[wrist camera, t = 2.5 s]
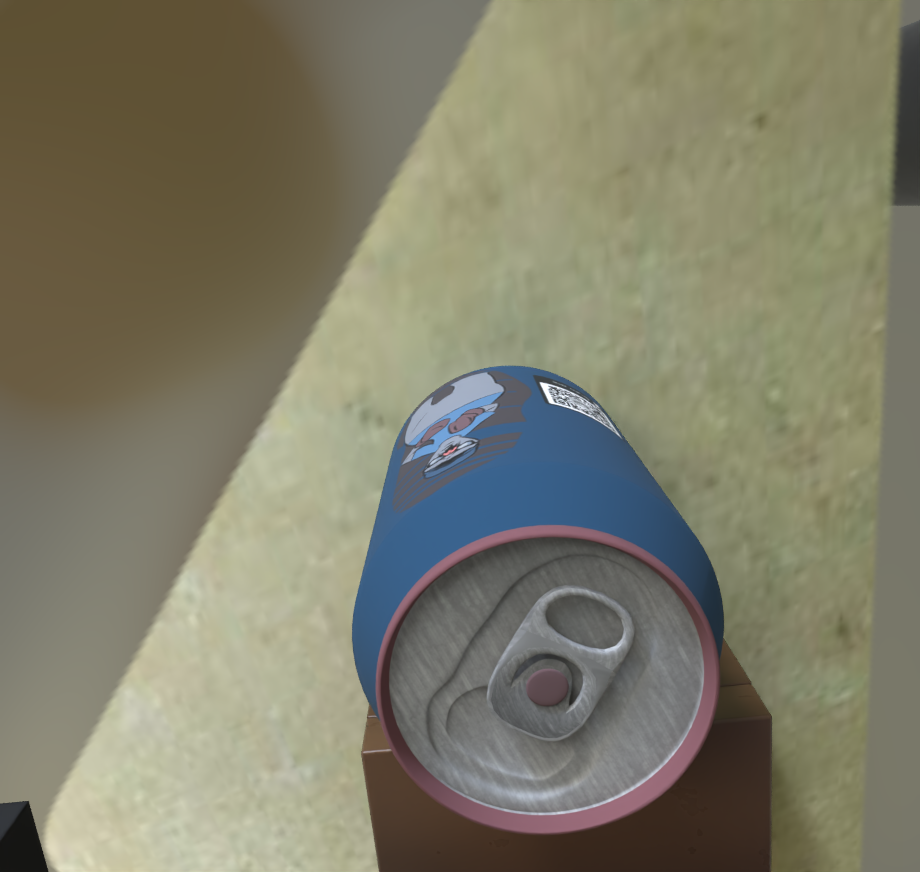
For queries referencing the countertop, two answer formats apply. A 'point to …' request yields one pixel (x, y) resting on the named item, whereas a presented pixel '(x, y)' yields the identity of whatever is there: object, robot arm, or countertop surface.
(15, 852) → the robot arm
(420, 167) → the countertop surface
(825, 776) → the countertop surface
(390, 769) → the walnut wood chunk
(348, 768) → the countertop surface
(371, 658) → the soda can
